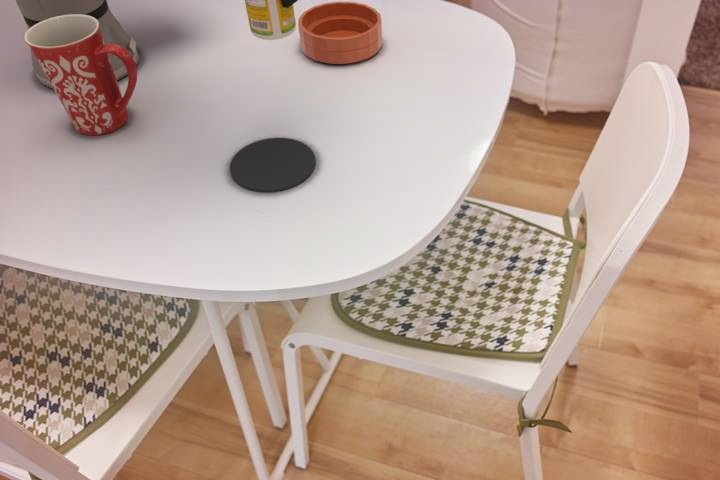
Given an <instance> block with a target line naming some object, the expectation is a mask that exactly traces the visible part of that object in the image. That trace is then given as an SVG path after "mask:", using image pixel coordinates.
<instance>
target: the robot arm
mask: <svg viewBox="0 0 720 480" xmlns="http://www.w3.org/2000/svg"><path fill="white" fill-rule="evenodd" d="M281 1H282V7H285V8H289V7H290V6H291V5H293V6H294V4H295V3H297V2H298V1H299V0H281ZM15 2H16V4H17V6H18V7H17V8H18V9H19V11H20V13H21V15H22V17H23V19H24V21H25V24H26V27H27V31H28V30H29V29H30V28H31V27H32V26H34V25H35V24H37V23H39V22H42V21H44V20H47V19H50V18H53V17H57V16H62V15H71V14H82V15H88V16H92V17H94V18H96V19H97V20H98V21H99V24H100V32H101V35H102V38H103V41H104V44H105V45H107V44H117V45H120V46H122V47H123V48H125V49H126V50H127V51H128V52H129V53H130V55H131V56H132V58H133V60H134V62H135V65H136V66H138V64H139V60H140V57H139V53H138V50H137V42H136V41H135V39H134V38H133V36H129V34H128V33H127V32H126V30H125V29H124V27H123V26H122V25H121V23H120V22H119V21H118V19H117V18H116V16H115V15H114V14H113V13H112V11H111V9H110V7H109V5H108V1H107V0H15ZM108 56H109V59H110V62H111V65H112V68H113V71H114V74H115V77H116V80H117V81H119V80H121V79H123V78H124V77H126V76H128V72H127V69H126V67H125V65H124V63H123V62H122V60H121V59H120V58H119V57H117V56H116V55H114V54H108ZM30 57H31V65H32V69H33V72H34V73H35V75H36V78H37V79H38V81H39V82H40V84H42V86H43V85H44V87H47V88H50V89H53V87H52V85H51V84H50V82H49V80H48V78H47V77H46V75H45V73H44V71H43V69H42V68H41V66H40V64H39V62H38V60H37V58H36V57H35V55H34V53H33V51H32V50H31V49H30Z"/></svg>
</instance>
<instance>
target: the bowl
mask: <svg viewBox="0 0 720 480" xmlns="http://www.w3.org/2000/svg"><path fill="white" fill-rule="evenodd" d="M297 26H298V33H299V34H298V35H299V41H300V48H301V50H302V52H303V53H304V54H305V56H306V57H309V58H310V59H312V60H314V61H317V62H321V63H324V64H331V65H332V64H335V65H346V64H353V63H358V62H361V61H363V60H367V59H369V58H372V57H373V56H374V55H376V54H377V53H378V52H379V51H380V49H381V47H382V45H383V36H382V35H383V29H382V15H381V13H379V12H378V10H377V9H376V8H374V7H373V6H370V5H367V4H365V3H360V2H355V1H332V2H325V3H321V4H317V5H314V6H313V7H310V8H308V9H307V10H305V11H302V14H301V15H300V16H299V17H298V21H297Z"/></svg>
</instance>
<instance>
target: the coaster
mask: <svg viewBox="0 0 720 480" xmlns="http://www.w3.org/2000/svg"><path fill="white" fill-rule="evenodd" d="M316 160H317V159H316V155H315V152H314V151H313V150H312V148H311V147H310V146H308V145H307V144H306V143H304V142H302V141H300V140H298V139H295V138H288V137H270V138H264V139H259V140H257V141H254V142H251V143H249V144H247V145H245V146H244V147H242V148H241V149H240V150H238V151H237V152H236V153H235V154H234V155H233V157H232V159H231V161H230V164H229V171H230V175H231V178H232V179H233V181H234V182H235V183H236V184H237V185H239V186H240V187H242V188H244V189H246V190H249V191H253V192H258V193H276V192H282V191H285V190H289V189H292V188H294V187H297V186H298V185H300V184H303V183H304V182H305V181H306V180H308V179H309V177H310V176H312V174H313V172H314V170H315V168H316V163H317V161H316Z"/></svg>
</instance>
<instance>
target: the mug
mask: <svg viewBox="0 0 720 480" xmlns="http://www.w3.org/2000/svg"><path fill="white" fill-rule="evenodd" d="M23 41H24V42H25V43H26V45H27V46H28V47H29V48H30V51H31V50H32V51H33V53H34V55H35V57H36V58H37V60H38V62H39V64H40V66H41V68H42V69H43V71H44V73H45V75H46V77H47V78H48V80H49V82H50V84H51V85H52V87H53V88H52V89H53V91H54V93H55V94H56V96H57V98H58V100H59V101H60V103H61V105H62V107H63V109H64V111H65V112H66V114H67V116H68V118H69V120H70V121H71V123H72V125H73V127H74V129H75V130H76V131H77V132H78V133H79V134H83V135H87V136H100V135H105V134H108V133H109V134H110V133H111V132H114V131H116V130H118V129H119V128H121V127H122V126H123V125H125V123H127V121H128V118H129V112H128V109H127V106H128V104H129V102H130V100H131V98H132V97H133V94H134V92H135V90H136V89H135V88H136V85H137V81H138V71H137V65H135V62H134V60H133V58H132V56H131V55H130V53H129V52H128V51H127V50H126V49H125V48H123V47H122V46H120V45H117V44H107V45H105V44H104V41H103V38H102V35H101V32H100V24H99V21H98V20H97V19H96V18H94V17H92V16H88V15H82V14H71V15H62V16H57V17H53V18H50V19H47V20H44V21H42V22H39V23H37V24H35V25H34V26H32V27H31V28H30V29H29V30H28V29H27V30H26V31H25V33H24V35H23ZM108 54H114V55H116V56H117V57H119V58H120V59H121V60H122V62H123V63H124V65H125V67H126V69H127V72H128V74H127V76H128V77H127V78H128V82H127V87H126V90H125V93H124V95H122V92H121V89H120V86H119V83H118V80H116V77H115V74H114V71H113V68H112V65H111V62H110V59H109V56H108Z"/></svg>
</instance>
